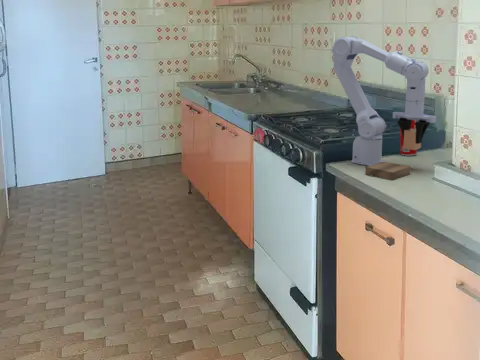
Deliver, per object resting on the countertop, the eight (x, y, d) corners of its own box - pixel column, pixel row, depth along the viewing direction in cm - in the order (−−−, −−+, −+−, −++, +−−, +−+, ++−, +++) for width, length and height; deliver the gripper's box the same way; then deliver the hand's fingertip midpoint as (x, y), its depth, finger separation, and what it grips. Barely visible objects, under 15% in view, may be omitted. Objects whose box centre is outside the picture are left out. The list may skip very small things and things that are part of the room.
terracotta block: (403, 148, 187) (404, 130, 186) (409, 146, 190) (411, 128, 188) (414, 150, 184) (415, 131, 183) (420, 148, 187) (422, 130, 185)
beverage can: (417, 156, 205) (419, 115, 201) (398, 156, 206) (400, 114, 202) (415, 152, 211) (418, 112, 207) (397, 152, 212) (399, 112, 208)
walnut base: (365, 174, 183) (365, 166, 182) (383, 168, 189) (383, 161, 189) (392, 180, 176) (392, 172, 175) (410, 174, 182) (410, 166, 181)
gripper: (388, 99, 186) (386, 141, 189) (429, 103, 175) (426, 147, 179) (400, 97, 190) (398, 137, 194) (440, 101, 180) (437, 143, 183)
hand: (412, 142), depth 187 cm, fingers closed on terracotta block, 4 cm apart
